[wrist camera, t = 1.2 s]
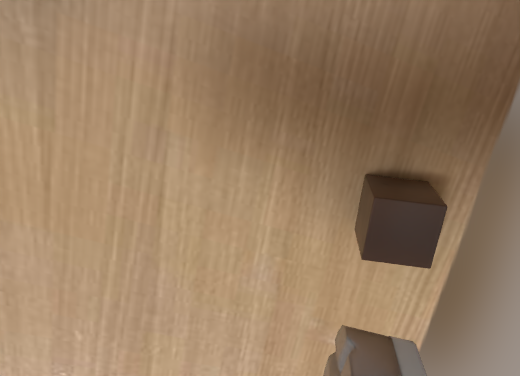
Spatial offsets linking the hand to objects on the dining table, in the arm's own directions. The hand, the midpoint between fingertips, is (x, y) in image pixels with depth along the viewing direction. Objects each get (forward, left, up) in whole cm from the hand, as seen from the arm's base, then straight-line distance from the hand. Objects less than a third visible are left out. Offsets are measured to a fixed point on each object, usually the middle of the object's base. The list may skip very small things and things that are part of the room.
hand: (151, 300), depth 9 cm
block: (+5, +9, -19) cm, 22 cm away
